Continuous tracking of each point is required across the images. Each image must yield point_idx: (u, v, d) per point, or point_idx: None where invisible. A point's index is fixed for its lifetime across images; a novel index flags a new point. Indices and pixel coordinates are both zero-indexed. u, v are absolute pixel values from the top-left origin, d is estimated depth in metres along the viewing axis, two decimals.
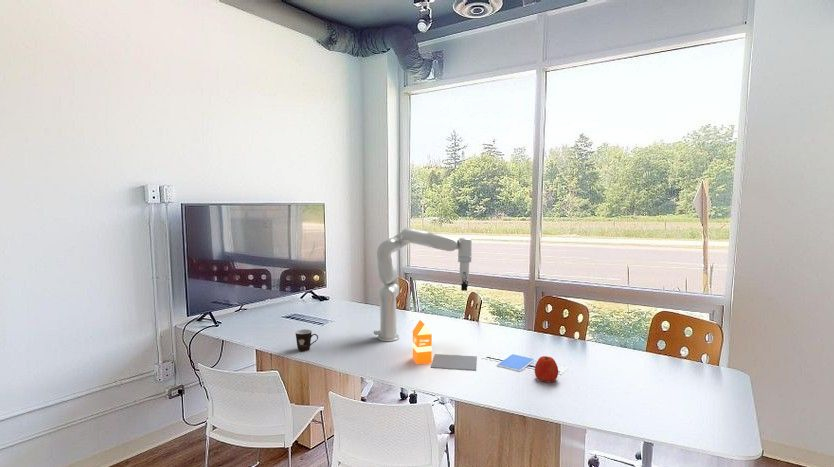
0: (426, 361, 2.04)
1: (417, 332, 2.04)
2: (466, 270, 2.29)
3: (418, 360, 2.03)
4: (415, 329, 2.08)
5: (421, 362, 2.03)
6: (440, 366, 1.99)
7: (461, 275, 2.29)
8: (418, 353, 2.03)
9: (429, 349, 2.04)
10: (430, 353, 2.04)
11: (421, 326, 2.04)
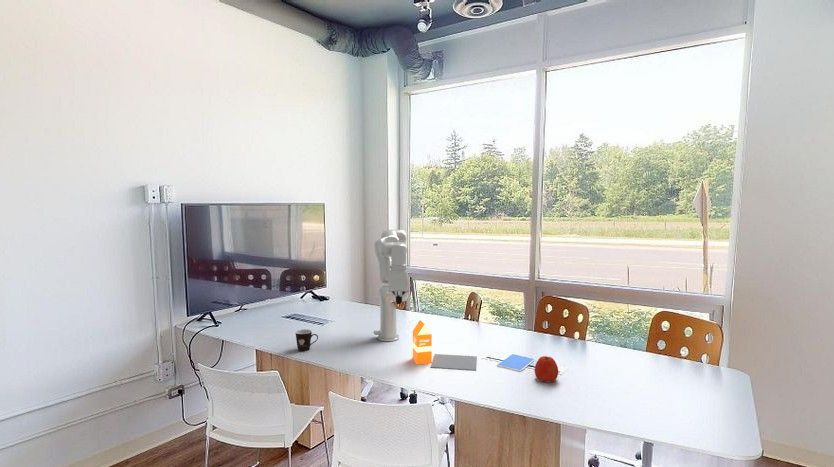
0: (426, 361, 2.04)
1: (417, 332, 2.04)
2: (408, 279, 2.08)
3: (418, 360, 2.03)
4: (415, 329, 2.08)
5: (421, 362, 2.03)
6: (440, 366, 1.99)
7: (408, 285, 2.05)
8: (418, 353, 2.03)
9: (429, 349, 2.04)
10: (430, 353, 2.04)
11: (421, 326, 2.04)
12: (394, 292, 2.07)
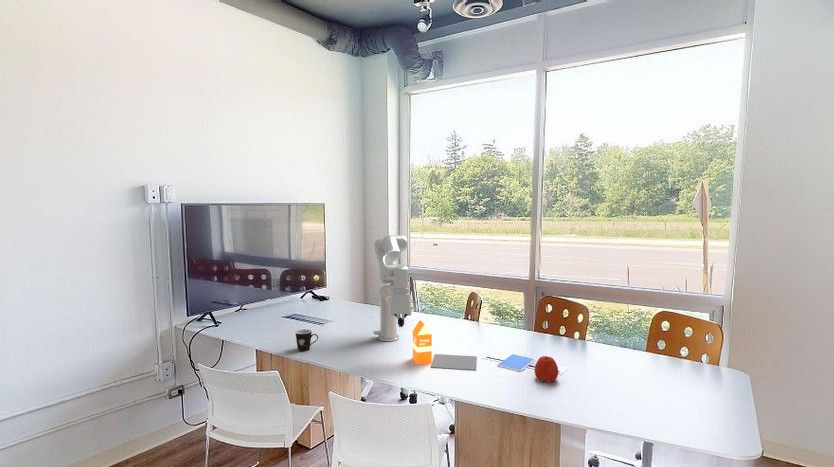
0: (426, 361, 2.04)
1: (417, 332, 2.04)
2: (410, 301, 2.08)
3: (418, 360, 2.03)
4: (415, 329, 2.08)
5: (421, 362, 2.03)
6: (440, 366, 1.99)
7: (410, 308, 2.06)
8: (418, 353, 2.03)
9: (429, 349, 2.04)
10: (430, 353, 2.04)
11: (421, 326, 2.04)
12: (396, 315, 2.08)
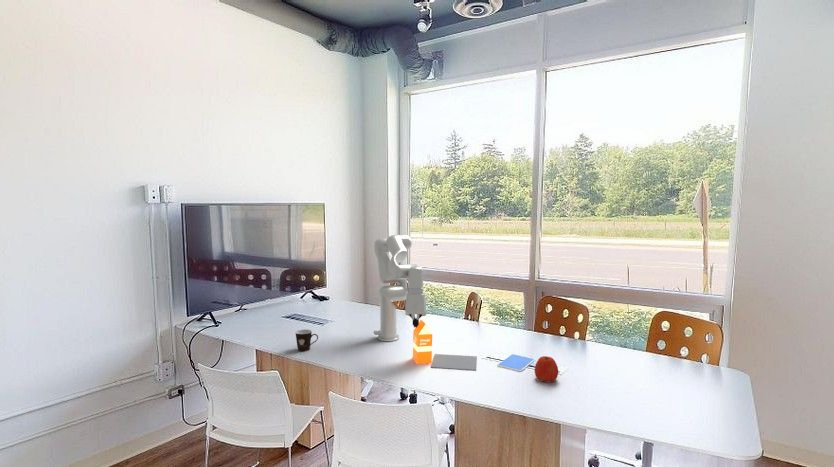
0: (426, 361, 2.04)
1: (418, 332, 2.04)
2: None
3: (418, 360, 2.03)
4: (416, 329, 2.09)
5: (421, 362, 2.03)
6: (440, 366, 1.99)
7: (425, 308, 2.05)
8: (418, 353, 2.03)
9: (430, 349, 2.04)
10: (430, 353, 2.04)
11: (422, 326, 2.04)
12: None
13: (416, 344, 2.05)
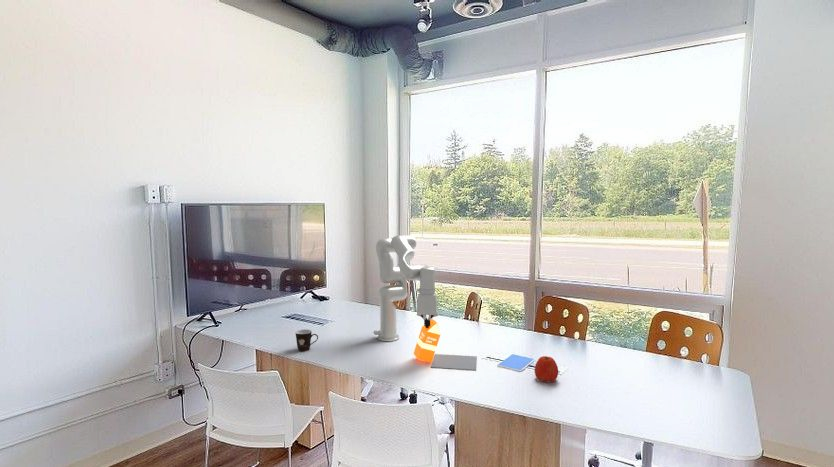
0: (427, 359, 2.04)
1: (427, 329, 2.06)
2: None
3: (420, 356, 2.03)
4: None
5: (422, 359, 2.03)
6: (440, 366, 1.99)
7: (436, 309, 2.04)
8: (422, 349, 2.03)
9: (434, 349, 2.05)
10: (433, 353, 2.05)
11: (433, 324, 2.05)
12: (422, 316, 2.06)
13: (422, 340, 2.05)
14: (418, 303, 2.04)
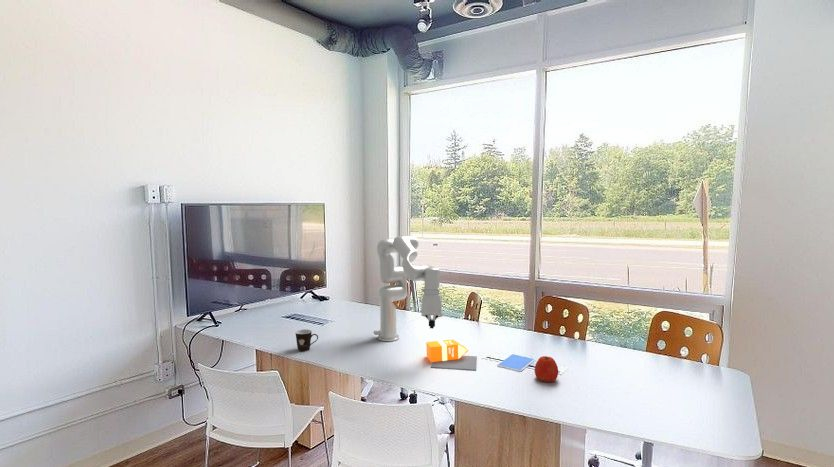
0: (432, 356, 2.05)
1: (458, 344, 2.10)
2: None
3: (433, 348, 2.05)
4: (456, 342, 2.14)
5: (431, 351, 2.05)
6: (440, 366, 1.99)
7: (441, 309, 2.03)
8: (440, 347, 2.05)
9: (443, 358, 2.06)
10: (439, 359, 2.06)
11: (464, 348, 2.10)
12: (427, 316, 2.05)
13: (446, 344, 2.08)
14: (423, 303, 2.04)
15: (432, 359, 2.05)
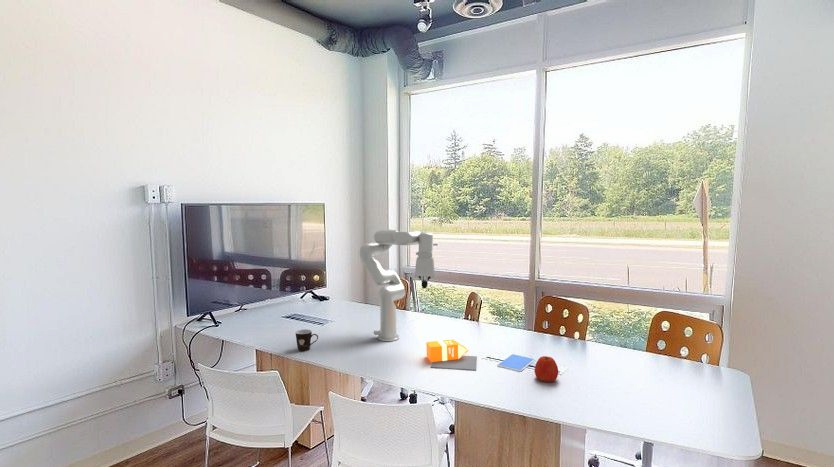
0: (432, 356, 2.05)
1: (458, 344, 2.10)
2: None
3: (433, 348, 2.05)
4: (456, 342, 2.14)
5: (431, 351, 2.05)
6: (440, 366, 1.99)
7: (433, 271, 2.21)
8: (440, 347, 2.05)
9: (443, 358, 2.06)
10: (439, 359, 2.06)
11: (464, 348, 2.10)
12: (420, 277, 2.24)
13: (446, 344, 2.08)
14: (416, 265, 2.22)
15: (432, 359, 2.05)
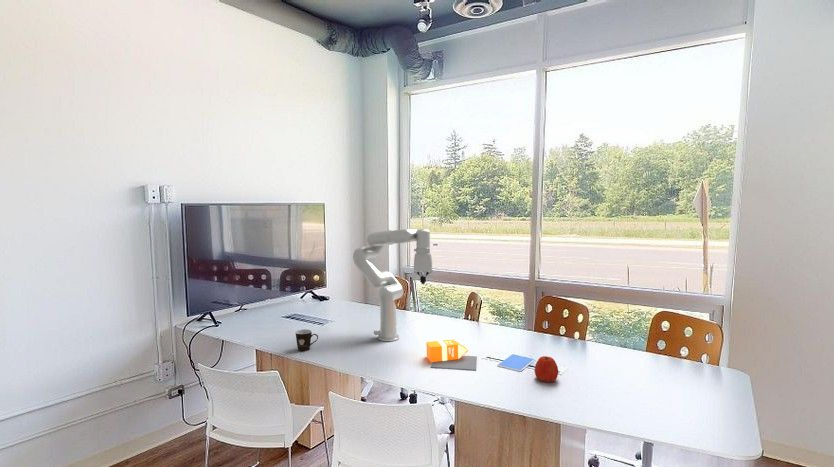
0: (432, 356, 2.05)
1: (458, 344, 2.10)
2: None
3: (433, 348, 2.05)
4: (456, 342, 2.14)
5: (431, 351, 2.05)
6: (440, 366, 1.99)
7: (431, 266, 2.27)
8: (440, 347, 2.05)
9: (443, 358, 2.06)
10: (439, 359, 2.06)
11: (464, 348, 2.10)
12: (419, 273, 2.29)
13: (446, 344, 2.08)
14: (415, 261, 2.28)
15: (432, 359, 2.05)
